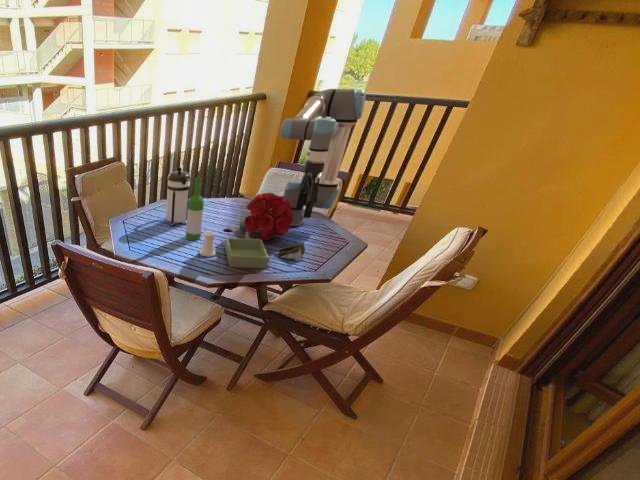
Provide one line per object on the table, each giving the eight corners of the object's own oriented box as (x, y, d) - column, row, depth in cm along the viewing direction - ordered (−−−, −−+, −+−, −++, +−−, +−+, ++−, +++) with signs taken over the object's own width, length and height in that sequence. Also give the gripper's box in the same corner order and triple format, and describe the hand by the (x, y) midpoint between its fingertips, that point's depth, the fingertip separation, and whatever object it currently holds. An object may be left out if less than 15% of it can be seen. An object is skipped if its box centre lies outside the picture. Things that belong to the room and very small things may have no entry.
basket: (225, 248, 193) (226, 237, 190) (259, 249, 191) (261, 239, 188) (229, 266, 175) (230, 256, 172) (266, 268, 174) (269, 257, 171)
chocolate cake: (274, 259, 183) (296, 246, 173) (276, 249, 187) (298, 237, 177) (286, 271, 186) (309, 260, 176) (288, 262, 190) (311, 250, 180)
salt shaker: (211, 257, 183) (214, 237, 177) (196, 254, 186) (198, 234, 180) (217, 252, 188) (220, 232, 182) (203, 249, 192) (205, 229, 186)
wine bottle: (188, 234, 209) (193, 175, 191) (202, 236, 205) (208, 177, 188) (183, 239, 203) (187, 179, 186) (197, 241, 200) (203, 181, 182)
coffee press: (194, 220, 226) (199, 165, 209) (182, 228, 215) (186, 171, 198) (167, 215, 234) (170, 162, 216) (155, 223, 223) (156, 167, 205)
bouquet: (230, 248, 209) (275, 236, 183) (223, 204, 206) (267, 185, 179) (259, 243, 219) (305, 231, 192) (252, 200, 216) (298, 182, 189)
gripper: (299, 154, 170) (288, 203, 183) (314, 168, 150) (300, 222, 163) (316, 154, 169) (304, 203, 182) (334, 168, 149) (319, 222, 162)
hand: (302, 212), depth 172 cm, fingers open, 13 cm apart
